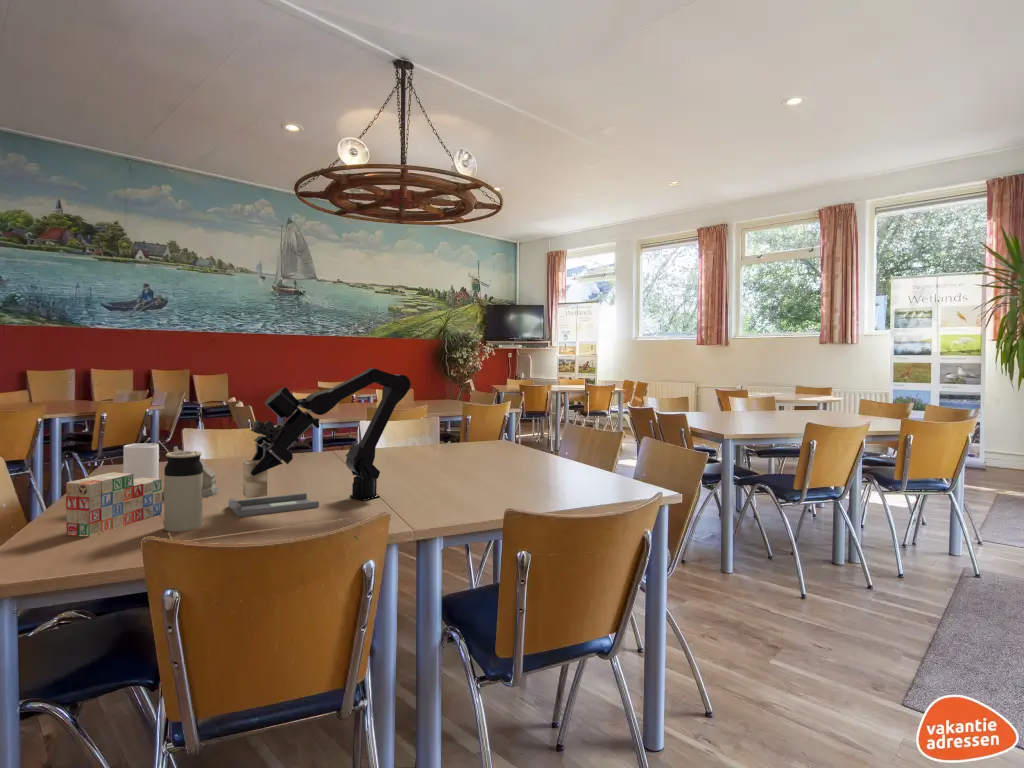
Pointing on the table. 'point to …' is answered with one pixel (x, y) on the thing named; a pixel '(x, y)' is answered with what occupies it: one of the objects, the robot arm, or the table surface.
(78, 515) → the stack of blocks
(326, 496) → the table surface
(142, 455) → the cup
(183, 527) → the travel mug
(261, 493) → the maple block
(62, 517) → the table surface
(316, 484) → the table surface
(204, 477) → the ceramic cottage
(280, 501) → the tray
